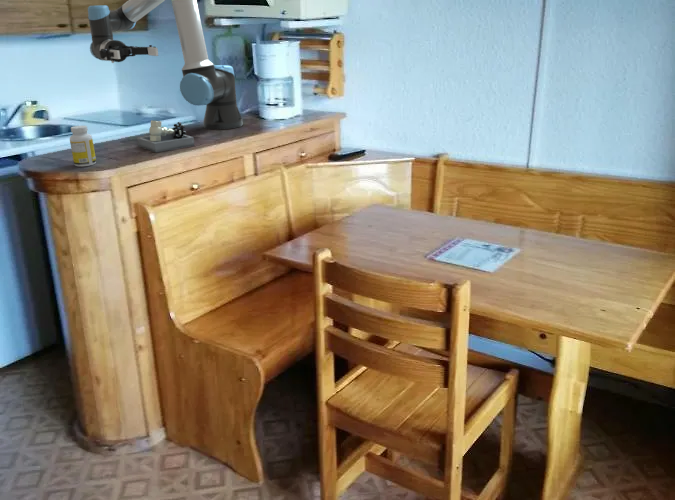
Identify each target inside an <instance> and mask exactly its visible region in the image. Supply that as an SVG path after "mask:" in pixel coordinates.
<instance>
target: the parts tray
mask: <svg viewBox="0 0 675 500" xmlns="http://www.w3.org/2000/svg"><path fill="white" fill-rule="evenodd" d="M173 136H174V134H167V135H166V136H162V135H161V141H160V142H157V141H150V135H146V136H140V137H137V145H138V147H139V148H142V149H144V150H148V151H151V152H153V153H155V154H157V153H162V152H167V151H173V150H179V149H185V148H186V149H187V148H191V147H195V139H194V136H190V135H187V134H184V135H183V137H184V138H182V139H178V138H177V139H174V138H173ZM178 136H179V137H180V136H181V134H179V135H178Z"/></svg>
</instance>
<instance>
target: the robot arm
mask: <svg viewBox="0 0 675 500" xmlns="http://www.w3.org/2000/svg"><path fill="white" fill-rule="evenodd" d="M165 1H166V0H127V1H126V2H124V3H123V4H122V5H121V6H119V7H118V8H116V9H113V10H112V9H110V8H109V6H108V5H106V4H105V5H104V4H103V5H101V4H99V5H89V6H88V7H87V15H88V17H87V18H88V21H89V23H88V25H89V28H90V35H91V43H90V45H89V51H90V54H91V55H92V56H93V57H94V58H95V59H97V60H100V61H104V62H105V61H106V62H107V61H108V62H111V63H112V64H114V63H115V62H116V63H122V62H124V61H125V60H126V59H127V58H129V57H135V56H136V55H137V56H140V55H141V56H144V55H147V56H152V57H158V56H159V50H158V47H156V46H153V45H152V44H150V45H148V46H134V45H130V46H129V45H126V44H125V43H124V42H123V41H121V40H117V39H116V40H115V39H114V35H113V32H127V31H129V30H133V28H135V26H136V25H137V24H136V23H137V22H138V21H139V20H141V19H142V18H143V17H145V16H146V15H147V14H149V13H150V12H151V11H153V10H155V8H157V7H158V6H160V4H162V3H163V2H165ZM170 2H171V5H172V11H173V14H174V18H175V19H174V20H175V23H176V28H177V32H178V33H177V34H178V38H179V43H180V48H181V53H182V57H183V60H184V61H183V62H184V65H183V66H182V68H181V72H182V78H181V81H180V83H179V91H180V94H181V96H182V97H183V98H184V100H185V101H186V102H188V103H189V104H190V105H193V106H196V107H197V106H198V107H199V106H205V113H204V118H203V128H204V129H207V130H230V129H235V128H240V127H242V126H243V124H244V123H243V117H242V115H241V113H240V110H239V107H238V105H237V93H236V91H237V90H236V81H235V79H236V78H235V76H236V75H235V71H234V70H235V69H234V68H233V66H232V65H225V64H224V65H221V64H220V65H217V64H214V63H213V62H212V61H210V59H209V56H208V50H207V46H206V40H205V36H204V30H203V27H202V20H201V16H200V11H199V5H198V0H170Z"/></svg>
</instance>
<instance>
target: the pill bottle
mask: <svg viewBox="0 0 675 500" xmlns="http://www.w3.org/2000/svg"><path fill="white" fill-rule="evenodd" d="M88 131H89V130H88V126H87V125H76V126H75V125H74V126H71V127H70V132H71V133H72V135H70V137H69V144H70V149H71V154H72V160H73V165H74V166H75V167H80V168H81V167H83V168H84V167H89V166H93V165H95V164H96V163H97V158H96V152H95V144H94V139H93V136H92V135H91V134H90V133H89V132H88Z"/></svg>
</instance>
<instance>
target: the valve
mask: <svg viewBox="0 0 675 500" xmlns="http://www.w3.org/2000/svg"><path fill="white" fill-rule="evenodd" d="M185 127H186V126H185V125H184V124H182V122H181V121H178V122H177V123H174V124H173V128H167V127H166V126H162V120H161V121H160V120H150V126H149V130H148V132H149V136H150V141H157V142H160V141H161V135H162V136H166V135H167V134H174V136H173V138H174V139H177V138H178V139H182V138H184V137H183V135H187V131H186V130H184V129H185ZM179 134H181V136H180V137H179V136H178V135H179Z"/></svg>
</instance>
